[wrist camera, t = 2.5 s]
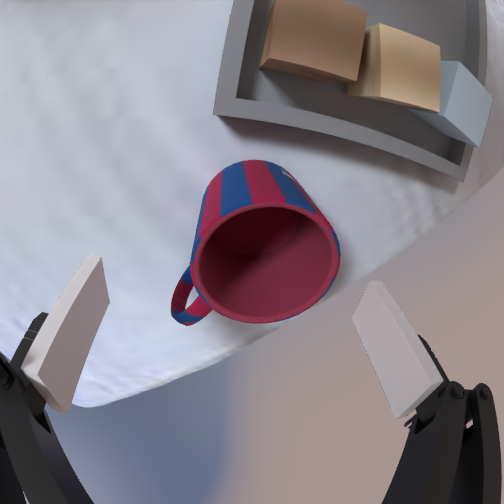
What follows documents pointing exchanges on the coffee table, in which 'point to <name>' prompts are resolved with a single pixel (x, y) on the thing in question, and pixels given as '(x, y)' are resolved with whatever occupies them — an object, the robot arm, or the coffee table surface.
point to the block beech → (398, 69)
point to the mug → (257, 249)
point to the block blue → (459, 105)
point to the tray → (335, 94)
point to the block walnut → (314, 40)
